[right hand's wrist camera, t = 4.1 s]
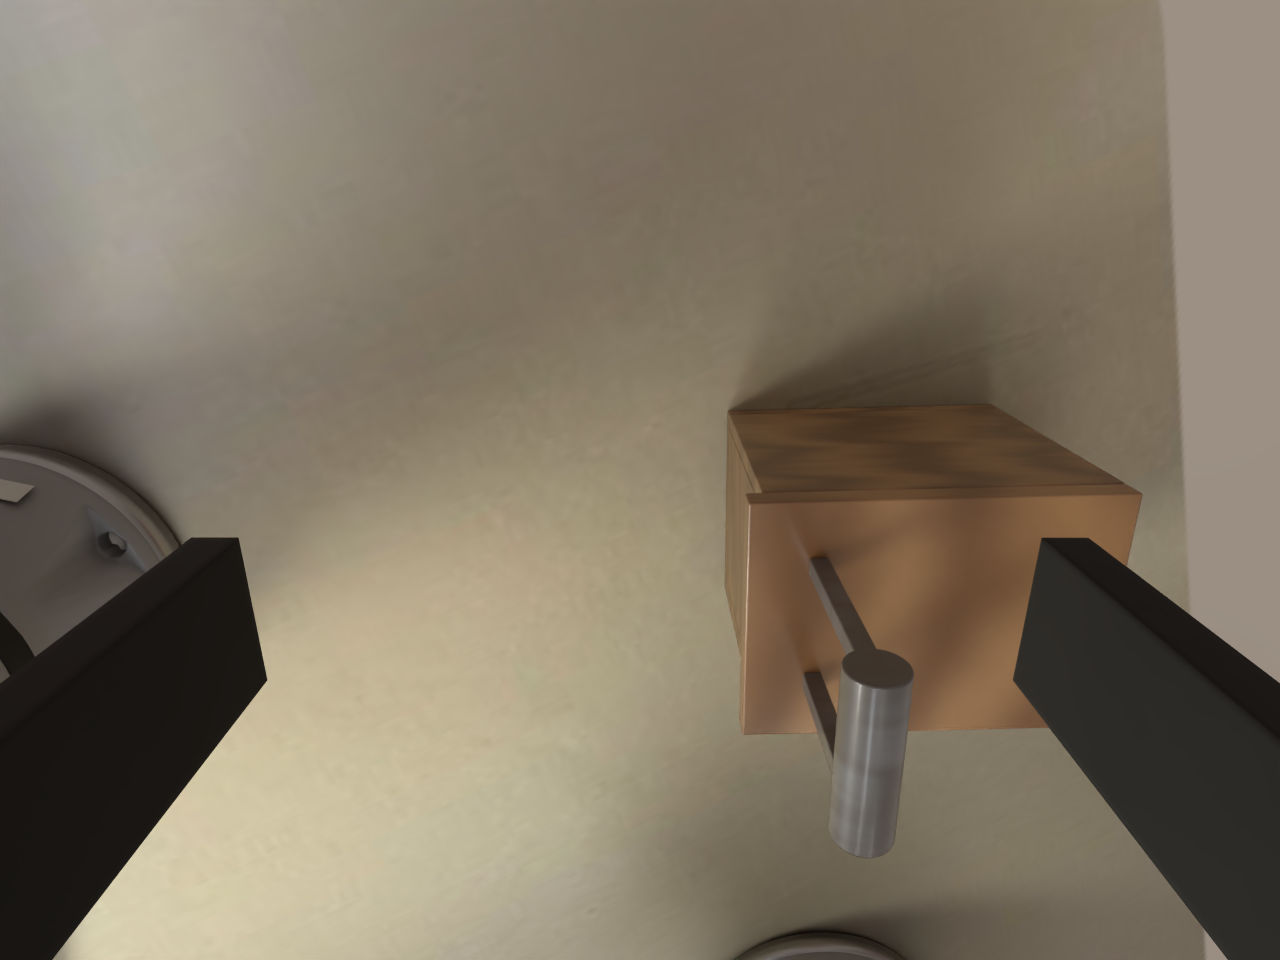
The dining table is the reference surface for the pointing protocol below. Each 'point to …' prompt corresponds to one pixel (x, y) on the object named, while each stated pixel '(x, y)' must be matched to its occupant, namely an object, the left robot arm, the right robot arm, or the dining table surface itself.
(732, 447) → the wooden box
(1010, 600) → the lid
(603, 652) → the dining table surface
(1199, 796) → the right robot arm
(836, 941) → the left robot arm
